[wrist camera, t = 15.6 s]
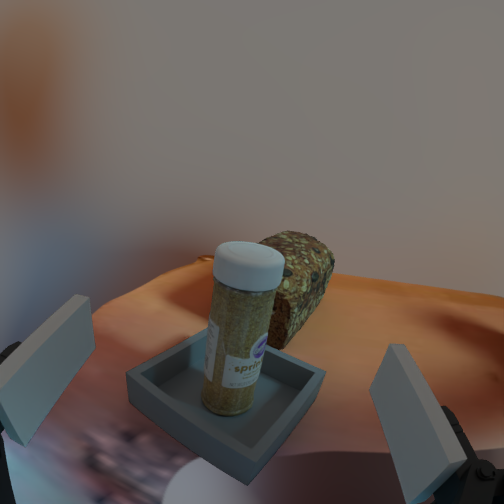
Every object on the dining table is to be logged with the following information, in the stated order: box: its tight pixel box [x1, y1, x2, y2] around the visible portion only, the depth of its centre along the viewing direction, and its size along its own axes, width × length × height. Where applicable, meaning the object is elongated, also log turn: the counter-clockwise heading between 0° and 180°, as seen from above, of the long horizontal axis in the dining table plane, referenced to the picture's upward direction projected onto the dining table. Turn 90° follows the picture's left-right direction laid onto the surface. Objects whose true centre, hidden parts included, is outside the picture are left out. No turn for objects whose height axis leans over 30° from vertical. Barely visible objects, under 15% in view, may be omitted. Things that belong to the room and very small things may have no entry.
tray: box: [126, 328, 326, 486], centre depth 24 cm, size 12×12×4 cm
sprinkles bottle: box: [201, 241, 285, 416], centre depth 22 cm, size 5×5×13 cm
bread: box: [257, 231, 335, 350], centre depth 42 cm, size 19×11×10 cm, turn 151°
